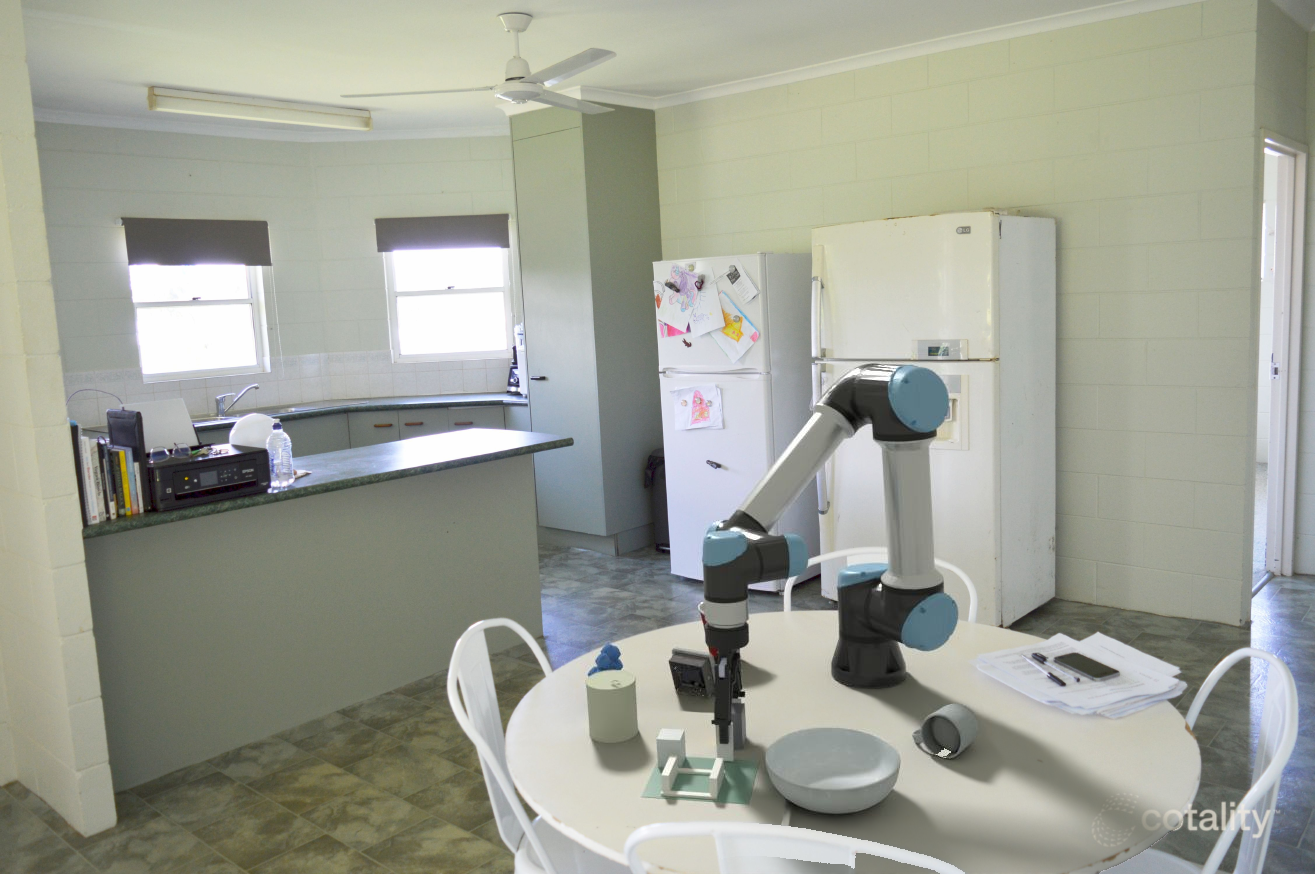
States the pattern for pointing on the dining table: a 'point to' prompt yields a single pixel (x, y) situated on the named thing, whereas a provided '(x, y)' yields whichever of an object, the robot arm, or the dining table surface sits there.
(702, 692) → the electrical switch
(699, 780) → the board
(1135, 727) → the dining table surface
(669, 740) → the plug
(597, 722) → the can
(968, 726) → the ceramic mug
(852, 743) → the serving bowl
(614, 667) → the grapes
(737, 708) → the plug
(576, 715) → the dining table surface
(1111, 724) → the dining table surface
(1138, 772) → the dining table surface
